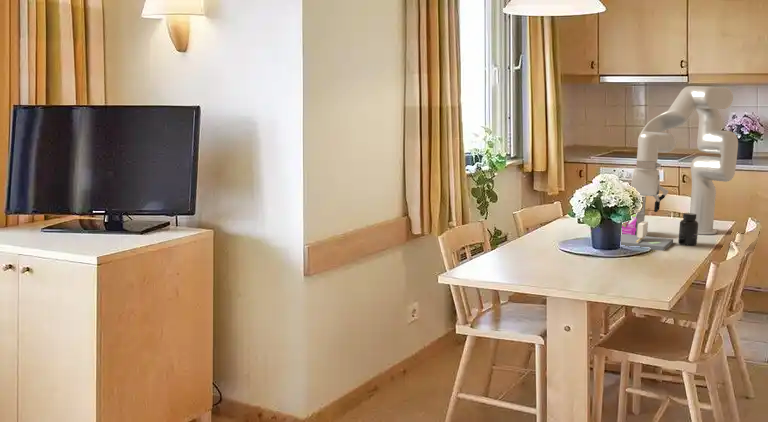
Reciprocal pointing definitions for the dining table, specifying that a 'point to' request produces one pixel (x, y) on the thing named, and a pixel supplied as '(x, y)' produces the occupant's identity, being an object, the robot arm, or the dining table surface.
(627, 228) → the candy bar box
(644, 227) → the white ice pop
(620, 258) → the dining table surface
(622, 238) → the slate dial board
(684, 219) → the supplement bottle
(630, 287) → the dining table surface
